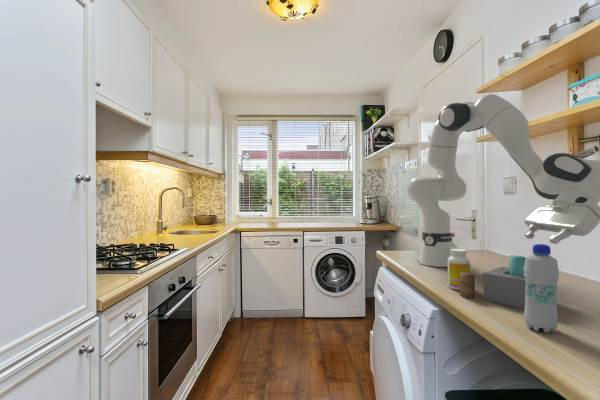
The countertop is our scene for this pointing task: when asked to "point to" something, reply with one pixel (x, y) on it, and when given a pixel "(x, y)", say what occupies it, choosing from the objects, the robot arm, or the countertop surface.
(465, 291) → the short pin
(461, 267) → the supplement bottle
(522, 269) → the long pin
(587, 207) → the robot arm
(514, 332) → the countertop surface
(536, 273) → the bottle
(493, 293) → the hole block
